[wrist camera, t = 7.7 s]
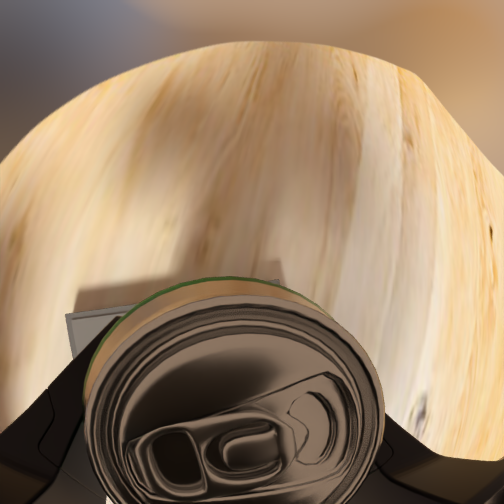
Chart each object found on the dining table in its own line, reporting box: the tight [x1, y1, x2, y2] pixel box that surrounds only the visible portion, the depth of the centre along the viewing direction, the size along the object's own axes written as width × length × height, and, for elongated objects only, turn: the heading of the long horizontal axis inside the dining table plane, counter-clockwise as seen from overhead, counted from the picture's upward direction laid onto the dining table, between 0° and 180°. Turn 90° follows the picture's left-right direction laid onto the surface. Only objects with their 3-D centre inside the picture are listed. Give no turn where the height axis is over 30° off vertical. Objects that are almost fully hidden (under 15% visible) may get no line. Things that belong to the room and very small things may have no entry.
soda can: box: [82, 276, 385, 504], centre depth 9 cm, size 5×5×12 cm
